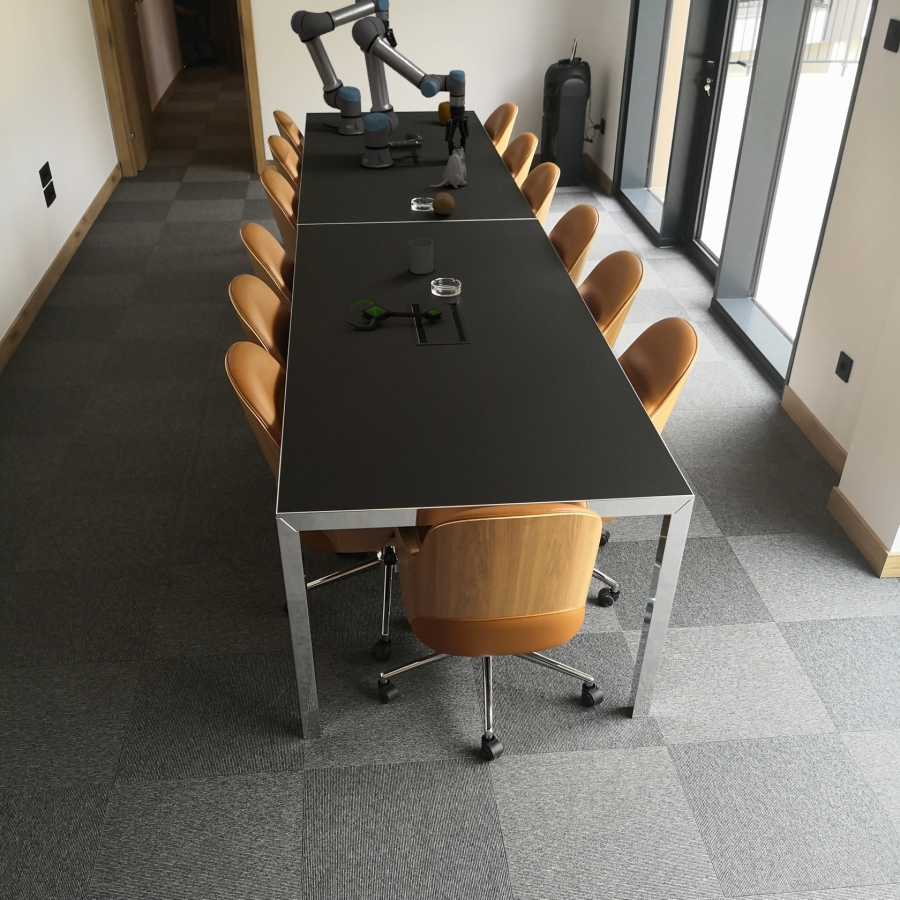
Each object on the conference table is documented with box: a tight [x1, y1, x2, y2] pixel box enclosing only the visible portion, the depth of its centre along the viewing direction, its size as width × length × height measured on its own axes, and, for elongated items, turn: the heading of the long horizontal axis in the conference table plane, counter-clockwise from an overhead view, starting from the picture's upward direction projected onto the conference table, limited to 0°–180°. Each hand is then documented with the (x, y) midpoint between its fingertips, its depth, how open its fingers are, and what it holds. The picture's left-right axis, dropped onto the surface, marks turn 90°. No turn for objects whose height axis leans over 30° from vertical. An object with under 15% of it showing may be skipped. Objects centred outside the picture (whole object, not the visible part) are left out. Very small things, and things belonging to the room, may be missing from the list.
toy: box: [428, 150, 468, 189], centre depth 390 cm, size 9×24×15 cm, turn 137°
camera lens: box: [454, 145, 464, 158], centre depth 430 cm, size 6×6×8 cm
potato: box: [431, 192, 456, 216], centre depth 360 cm, size 10×14×8 cm
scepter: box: [345, 298, 443, 331], centre depth 269 cm, size 6×13×30 cm
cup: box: [408, 237, 434, 275], centre depth 305 cm, size 8×8×10 cm
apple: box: [437, 100, 451, 126], centre depth 500 cm, size 11×11×13 cm
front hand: (456, 153), depth 430 cm, fingers open, 8 cm apart
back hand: (383, 61), depth 494 cm, fingers open, 13 cm apart
